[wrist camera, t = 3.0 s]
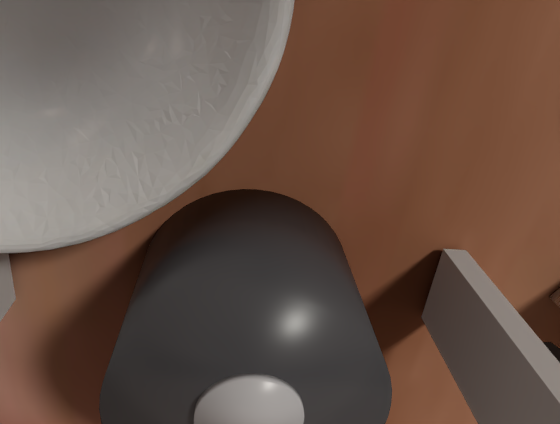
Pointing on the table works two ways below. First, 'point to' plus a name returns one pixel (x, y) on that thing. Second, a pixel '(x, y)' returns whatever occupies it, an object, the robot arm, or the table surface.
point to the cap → (246, 323)
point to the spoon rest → (122, 106)
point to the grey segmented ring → (556, 297)
